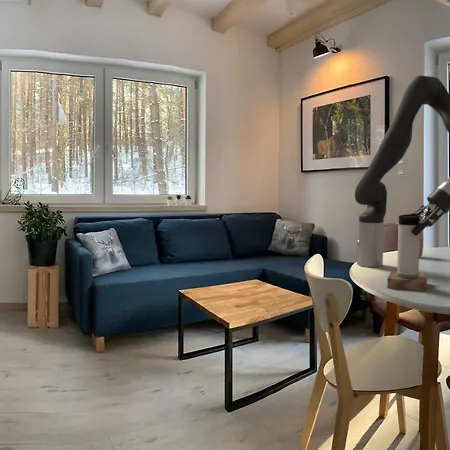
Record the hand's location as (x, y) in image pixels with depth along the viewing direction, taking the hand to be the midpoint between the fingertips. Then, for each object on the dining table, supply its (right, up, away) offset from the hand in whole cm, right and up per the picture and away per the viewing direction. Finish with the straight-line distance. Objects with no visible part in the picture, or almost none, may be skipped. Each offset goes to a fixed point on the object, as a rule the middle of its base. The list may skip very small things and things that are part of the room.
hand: (408, 232), depth 144 cm
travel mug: (0, -14, +2) cm, 14 cm away
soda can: (+24, -12, +55) cm, 61 cm away
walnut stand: (0, -17, +2) cm, 17 cm away
